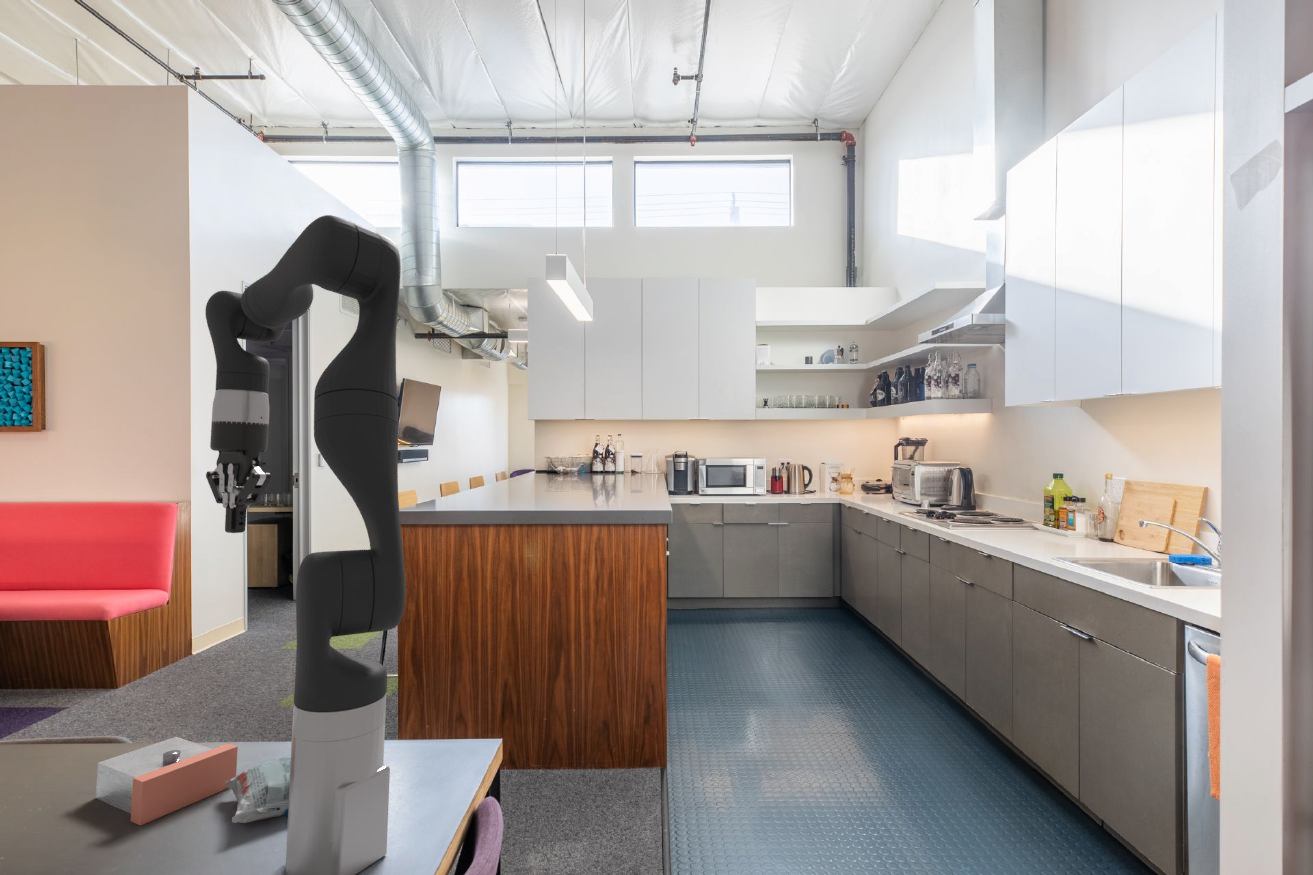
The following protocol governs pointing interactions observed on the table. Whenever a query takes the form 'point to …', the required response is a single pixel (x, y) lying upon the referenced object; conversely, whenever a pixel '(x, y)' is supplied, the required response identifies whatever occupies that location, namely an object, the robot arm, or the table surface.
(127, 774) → the metal block with knob
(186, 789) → the salmon angled bracket
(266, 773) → the packaged food
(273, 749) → the table surface
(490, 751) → the table surface
